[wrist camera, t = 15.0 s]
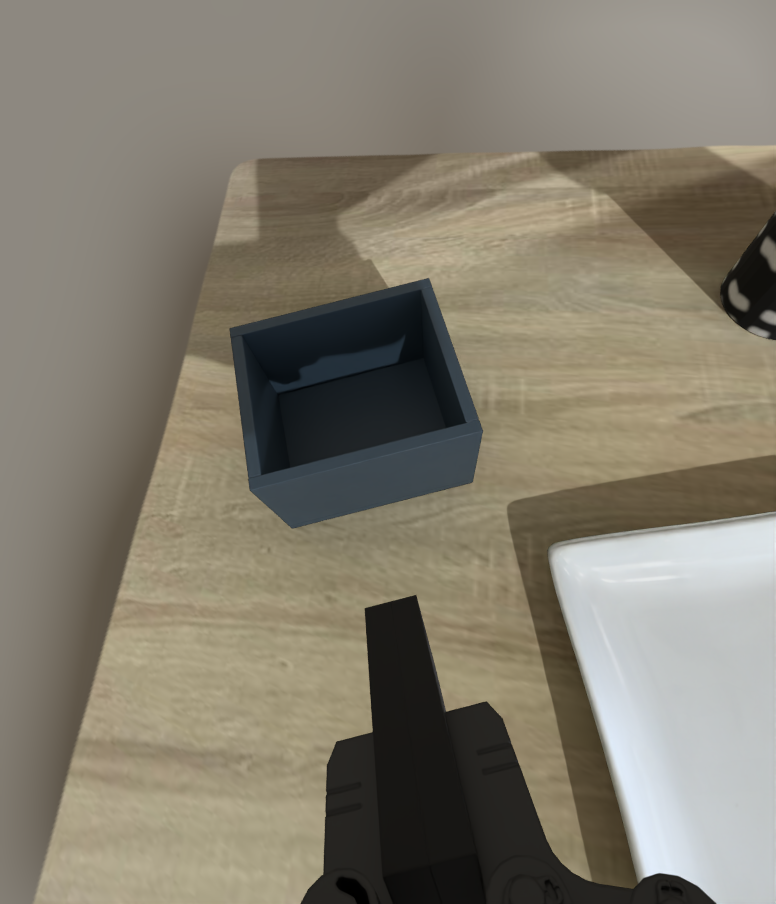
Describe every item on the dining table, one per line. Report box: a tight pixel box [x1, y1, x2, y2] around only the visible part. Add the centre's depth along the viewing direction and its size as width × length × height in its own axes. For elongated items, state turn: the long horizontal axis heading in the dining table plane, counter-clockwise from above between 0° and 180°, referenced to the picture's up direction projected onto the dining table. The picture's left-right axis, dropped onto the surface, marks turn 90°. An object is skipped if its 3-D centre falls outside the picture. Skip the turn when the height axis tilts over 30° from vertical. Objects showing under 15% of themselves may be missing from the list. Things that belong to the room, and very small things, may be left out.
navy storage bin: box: [230, 278, 483, 528], centre depth 35 cm, size 9×14×12 cm
